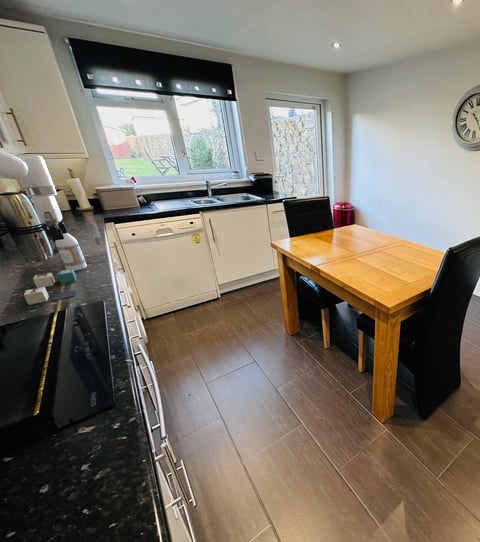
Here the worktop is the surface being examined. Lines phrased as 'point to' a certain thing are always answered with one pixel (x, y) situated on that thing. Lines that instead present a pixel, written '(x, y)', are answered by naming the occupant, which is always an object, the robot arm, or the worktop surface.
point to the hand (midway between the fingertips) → (60, 236)
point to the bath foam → (70, 253)
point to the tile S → (66, 276)
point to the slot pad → (63, 295)
